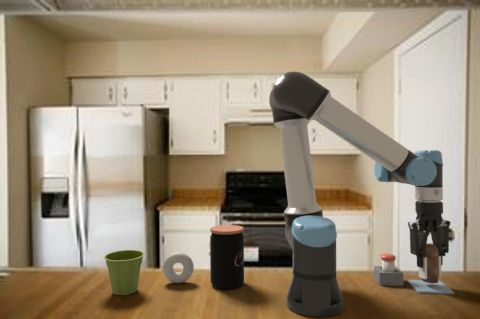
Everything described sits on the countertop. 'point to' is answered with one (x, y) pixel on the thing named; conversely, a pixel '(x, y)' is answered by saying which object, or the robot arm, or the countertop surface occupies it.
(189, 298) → the countertop surface
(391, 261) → the button plunger
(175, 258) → the donut
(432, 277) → the brown domed cylinder
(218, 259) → the coffee jar
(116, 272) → the plant pot
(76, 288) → the countertop surface
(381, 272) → the button collar
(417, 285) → the tile
